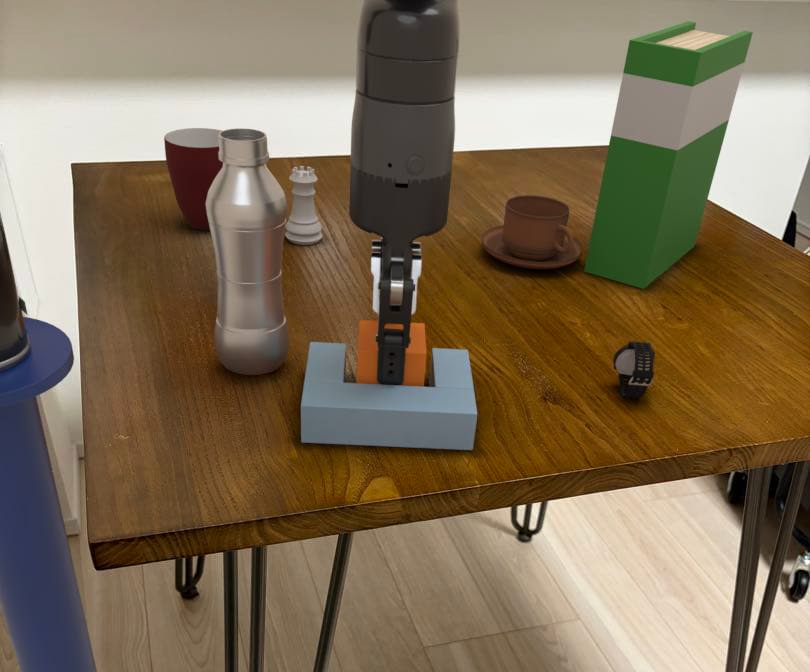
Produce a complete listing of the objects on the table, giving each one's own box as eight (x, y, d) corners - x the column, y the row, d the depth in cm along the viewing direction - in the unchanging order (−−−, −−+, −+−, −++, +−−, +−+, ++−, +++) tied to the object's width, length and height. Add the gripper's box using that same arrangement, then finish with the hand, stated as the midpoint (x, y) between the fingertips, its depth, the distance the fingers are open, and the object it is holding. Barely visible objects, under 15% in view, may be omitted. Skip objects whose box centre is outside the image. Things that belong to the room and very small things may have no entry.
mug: (179, 205, 113) (171, 120, 107) (243, 207, 114) (239, 123, 108) (168, 236, 105) (159, 146, 99) (238, 238, 106) (233, 149, 100)
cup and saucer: (596, 257, 108) (606, 205, 105) (552, 287, 100) (562, 233, 97) (509, 232, 113) (516, 181, 109) (461, 259, 105) (466, 206, 101)
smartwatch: (654, 388, 84) (667, 339, 80) (643, 413, 80) (656, 363, 77) (611, 377, 85) (622, 328, 82) (598, 401, 81) (609, 351, 78)
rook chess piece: (283, 245, 105) (282, 174, 100) (286, 231, 109) (284, 162, 104) (321, 246, 105) (322, 176, 100) (323, 233, 109) (323, 164, 104)
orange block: (356, 388, 75) (357, 349, 73) (358, 356, 79) (359, 319, 77) (423, 391, 75) (426, 353, 73) (421, 359, 79) (424, 322, 77)
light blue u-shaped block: (301, 442, 73) (300, 405, 70) (310, 376, 81) (310, 341, 79) (472, 450, 73) (477, 413, 71) (463, 384, 82) (468, 349, 80)
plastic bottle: (209, 354, 83) (190, 124, 71) (280, 346, 85) (274, 121, 73) (224, 388, 78) (206, 148, 66) (299, 378, 81) (296, 144, 68)
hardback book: (639, 231, 117) (688, 21, 101) (694, 246, 114) (752, 31, 99) (583, 271, 105) (629, 40, 90) (643, 288, 102) (701, 52, 87)
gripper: (353, 129, 71) (348, 326, 82) (347, 187, 60) (342, 406, 71) (447, 135, 72) (430, 330, 82) (458, 193, 61) (437, 411, 71)
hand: (389, 364), depth 77 cm, fingers closed on orange block, 5 cm apart
